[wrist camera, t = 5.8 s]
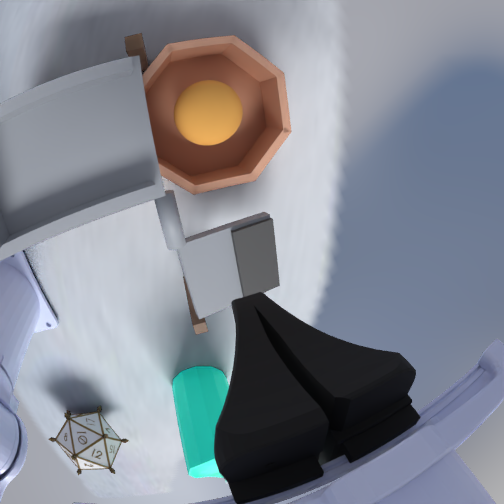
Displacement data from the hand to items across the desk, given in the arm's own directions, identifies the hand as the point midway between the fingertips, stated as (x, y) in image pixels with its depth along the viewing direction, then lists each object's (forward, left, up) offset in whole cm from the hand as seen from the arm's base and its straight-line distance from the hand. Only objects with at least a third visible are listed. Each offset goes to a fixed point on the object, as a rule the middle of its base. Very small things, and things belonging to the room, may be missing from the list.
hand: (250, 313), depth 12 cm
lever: (-4, +4, -5) cm, 7 cm away
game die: (-20, -19, -11) cm, 29 cm away
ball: (+1, +8, -8) cm, 11 cm away
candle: (-5, -17, -11) cm, 20 cm away
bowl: (+1, +8, -10) cm, 13 cm away
